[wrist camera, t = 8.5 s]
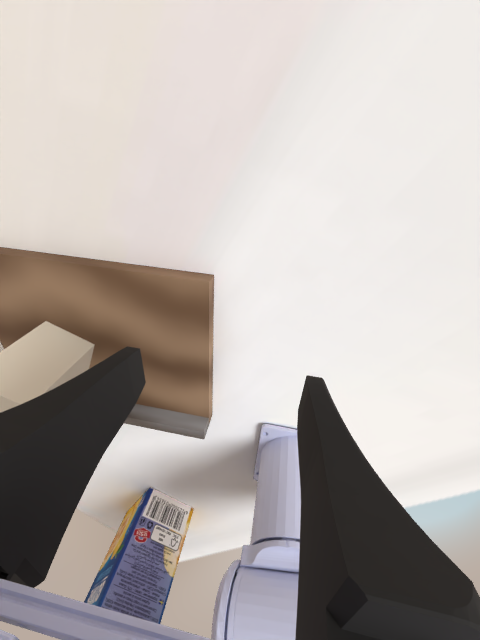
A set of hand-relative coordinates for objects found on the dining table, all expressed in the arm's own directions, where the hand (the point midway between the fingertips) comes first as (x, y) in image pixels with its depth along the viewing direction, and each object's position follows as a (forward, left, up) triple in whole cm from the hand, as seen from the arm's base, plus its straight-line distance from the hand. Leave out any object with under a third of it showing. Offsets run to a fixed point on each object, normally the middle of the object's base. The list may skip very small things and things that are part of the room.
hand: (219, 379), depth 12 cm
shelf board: (-7, +13, -9) cm, 17 cm away
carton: (-8, +16, -8) cm, 19 cm away
